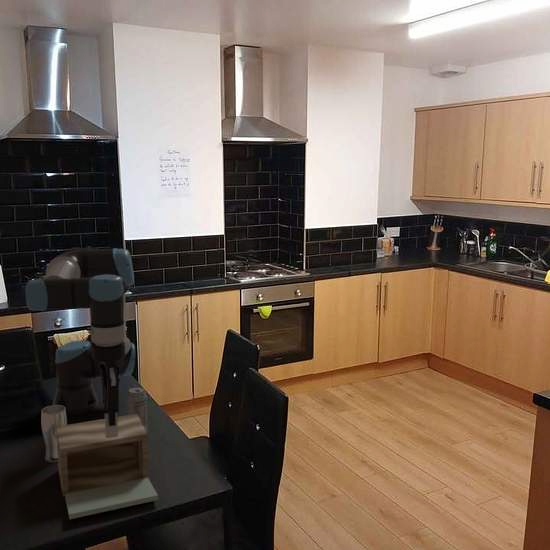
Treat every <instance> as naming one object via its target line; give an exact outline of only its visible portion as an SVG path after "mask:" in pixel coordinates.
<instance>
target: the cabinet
mask: <svg viewBox="0 0 550 550" xmlns="http://www.w3.org/2000/svg"><path fill="white" fill-rule="evenodd" d="M117 420H118V437H112V438H106V434H105V418H104V419H96V420H89V421H83V422H77V423H71V424H67V425H63V426H57V427H56V434H57V451H58V462H57V466H58V467H57V468H58V469H57V470H58V475H59V476H58V477H59V481H60V488H61V494H62V495H61V496H62V497H65V494H68V493H73V492H78V491H83V490H88V489H93V488H98V487H103V486H108V485H113V484H118V483H123V482H128V481H133V480H137V479H142V478H147V477H148V479H149V480H150V477H149V473H150V472H149V445H148V444H149V442H148V441H149V439H148V436H149V435H148V431H147V432H146V430H145V428H144V426H143V424H142V422H141V420H140V418H139V416H138V415H137V414H133V415H128V414H126V415H122V416H117Z"/></svg>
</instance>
